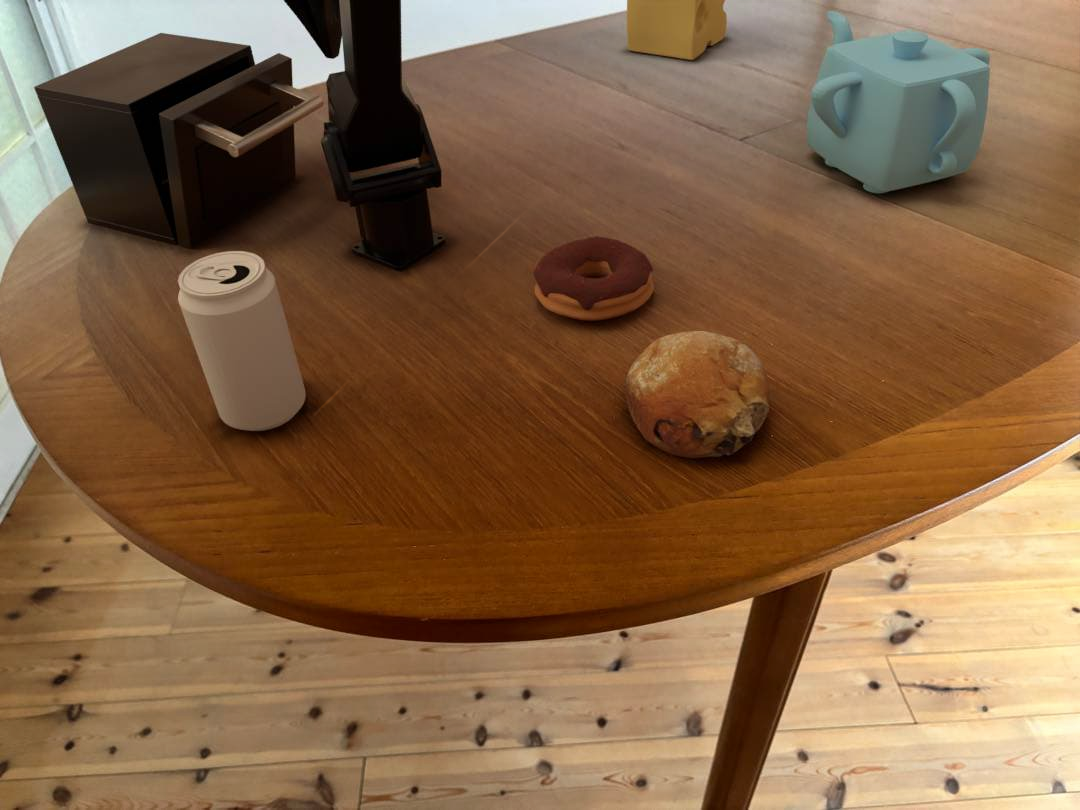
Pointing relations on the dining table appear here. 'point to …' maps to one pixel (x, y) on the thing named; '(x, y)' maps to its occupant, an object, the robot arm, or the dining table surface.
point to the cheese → (675, 26)
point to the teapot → (898, 107)
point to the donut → (584, 298)
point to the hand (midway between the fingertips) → (332, 57)
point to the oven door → (232, 147)
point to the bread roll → (697, 394)
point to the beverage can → (242, 339)
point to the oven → (131, 125)
